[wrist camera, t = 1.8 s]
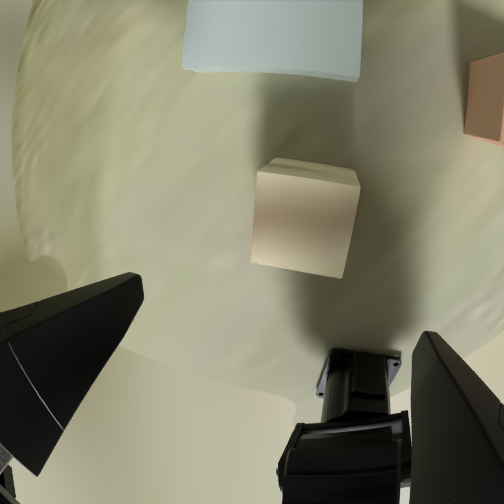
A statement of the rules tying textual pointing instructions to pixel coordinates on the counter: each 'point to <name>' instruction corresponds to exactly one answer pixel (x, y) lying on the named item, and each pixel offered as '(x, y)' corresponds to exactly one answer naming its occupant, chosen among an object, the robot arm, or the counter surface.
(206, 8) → the blue-grey slab
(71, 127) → the counter surface
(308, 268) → the birch cube
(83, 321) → the robot arm
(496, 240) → the counter surface
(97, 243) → the counter surface
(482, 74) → the terracotta cube
